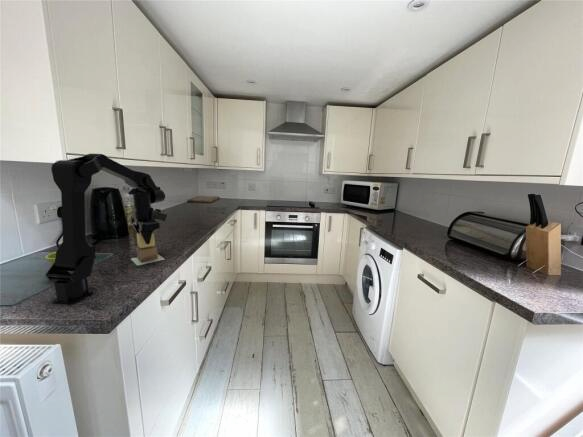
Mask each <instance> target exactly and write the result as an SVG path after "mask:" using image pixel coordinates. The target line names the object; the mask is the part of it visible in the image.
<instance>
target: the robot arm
mask: <svg viewBox="0 0 583 437" xmlns="http://www.w3.org/2000/svg"><path fill="white" fill-rule="evenodd" d="M50 168H51V174H52V178H53V182H54V184H56V186H57V187H58V189H59V190H60V193H61V194H60V196H61V200H60V201H61V222H62V223H61V225H62V226H61V227H62V230H61V231H62V243H61V244H60V245H59V246H58V249H57V250H56V251H55V252H56V257H55V262H54V264H53V265H51V266H50V267H49V269H48V270H47V272H45V277H46V278H47V280H48V281H55V282H54V283H53V284H54V290H55V296H56V298H55V299H53V300H52V301H51V302H52V303H53V302H59V303H58V304H67V303H70V304H71V305H72V304H73V303H74V304H76V303H77V301H78V302H79V301H82V300H83V299H84V298H86V297H89V296H90V295H91V294H93V293H94V292H93V290H90V288H89V284H88V278H89V277H91V275H92V271H93V266H94V264H95V259H97V256H96V246H95V245H94V244H93V245H92V244H89V243H88V242H87V238H86V236H87V233H86V232H87V231H86V230H87V229H86V192H87V190H88V188H89V187H90V185H91V183H92V179H93V175H96V174H98V173H100V171H103V172H105V173H107V174H110V175H112V176H114V177H117V178H119V179H121V180H123V182H124V183H125V184H126V185H128V186H129V187H130V188H131V190H130V191H128V192H127V194H128V195H130V196H132V199H133V207H132V210H133V211H134V215H131V216H130V217H129V223H130V224H132V225H131V226H132V227H133V229H134V230H135V231H136V234H137V233H141V235H142V237H143V239H144V241H145V242H146V244H150V240H151V236H152V233H153V232H154V231H155V230H160V229H161V224H160V223H159V222H158V220H160V221H162V222H166V221H167V218H168V214H167V213H165V212H162V210H161V209H159V208H155V209H154V208H153V207H152V204H157V203H162V202H164V201H165V199H166V193H165V192H164V191H163V190H162V189H161V187H160V186H157V185H156V183H155V182H154V180H153V178H152V176H151V174H148V173H146V172H142V171H136V170H133V169H131V168H129V167H127V166H125V165H123V164H121V163H119V162H117V161H115V160H113V159H111V158H110V157H108V156H107V155H105V154H103V153H88V154H86V155H83V156H78V157H75V158H69V159H67V160H66V159H65V160H64V159H60V160H56V162H54V163H52V164H51V167H50ZM68 271H74V272H68Z"/></svg>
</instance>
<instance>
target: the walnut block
mask: <svg viewBox="0 0 583 437" xmlns="http://www.w3.org/2000/svg"><path fill="white" fill-rule="evenodd" d="M136 257H137V259H138V260H139V261H140V262H141V263H143V262H147V261H152V260H156V259H158V248H157V246H150V247H145V248H140V247H139V246H136Z"/></svg>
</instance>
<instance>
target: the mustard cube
mask: <svg viewBox="0 0 583 437" xmlns="http://www.w3.org/2000/svg"><path fill="white" fill-rule="evenodd" d="M136 241H137V247H140V248H145V247H150V246H155V245H156V242H155V233H153V232H152V236H151V240H150V244H146V242H145V241H144V239H143V237H142V235H141V233H137V232H136ZM155 247H156V246H155Z"/></svg>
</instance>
